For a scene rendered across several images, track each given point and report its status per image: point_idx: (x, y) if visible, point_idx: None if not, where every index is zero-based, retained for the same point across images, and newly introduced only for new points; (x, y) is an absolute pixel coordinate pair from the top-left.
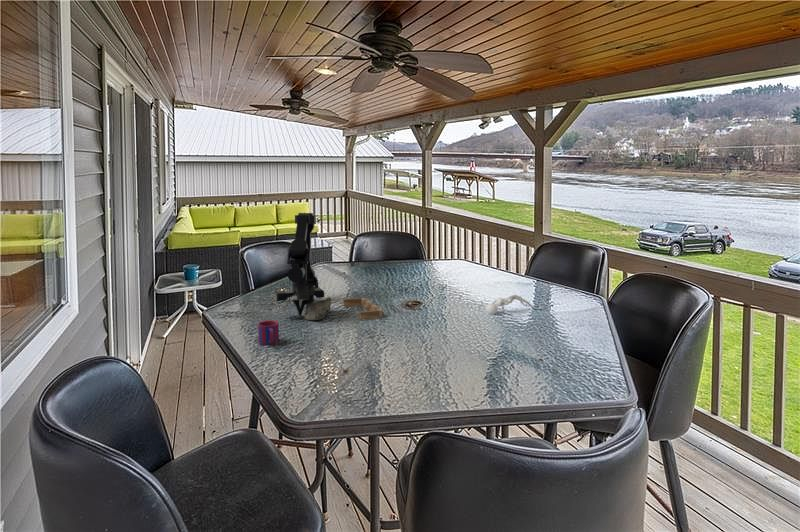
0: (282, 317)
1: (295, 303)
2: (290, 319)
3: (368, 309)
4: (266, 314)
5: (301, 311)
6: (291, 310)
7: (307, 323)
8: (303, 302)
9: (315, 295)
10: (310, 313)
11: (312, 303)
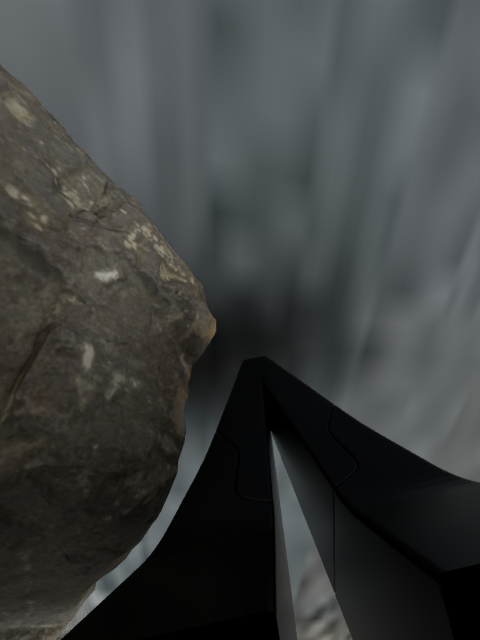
0: (399, 380)
1: (468, 482)
2: (349, 313)
3: None
4: (474, 450)
5: (246, 385)
6: (295, 519)
7: (155, 71)
8: (228, 551)
9: None
10: (71, 224)
11: (18, 568)
